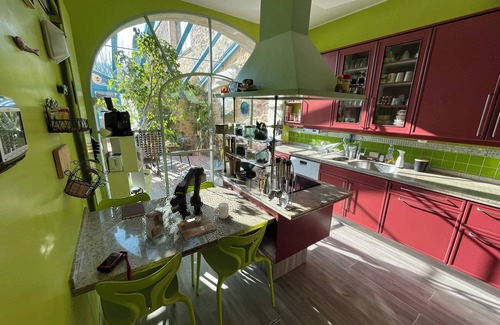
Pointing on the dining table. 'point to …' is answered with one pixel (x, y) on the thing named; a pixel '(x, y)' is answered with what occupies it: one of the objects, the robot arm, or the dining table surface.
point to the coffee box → (154, 224)
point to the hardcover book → (133, 210)
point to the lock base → (196, 228)
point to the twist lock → (191, 221)
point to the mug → (222, 210)
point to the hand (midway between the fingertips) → (183, 219)
